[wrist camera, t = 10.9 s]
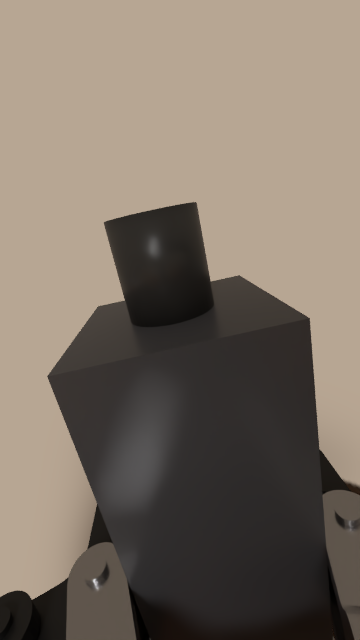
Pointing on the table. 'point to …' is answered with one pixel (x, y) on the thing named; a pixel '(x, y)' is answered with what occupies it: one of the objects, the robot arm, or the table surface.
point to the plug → (201, 441)
